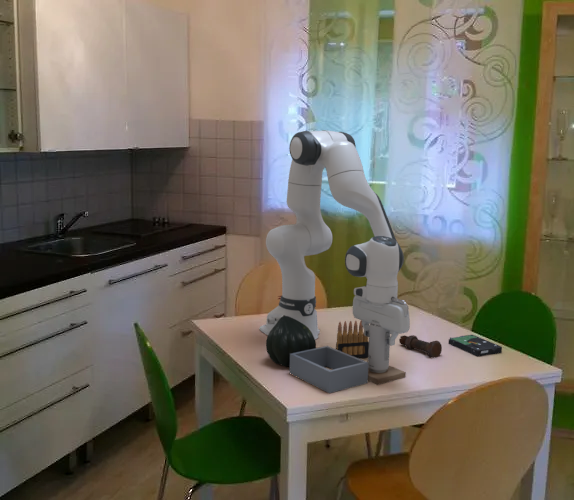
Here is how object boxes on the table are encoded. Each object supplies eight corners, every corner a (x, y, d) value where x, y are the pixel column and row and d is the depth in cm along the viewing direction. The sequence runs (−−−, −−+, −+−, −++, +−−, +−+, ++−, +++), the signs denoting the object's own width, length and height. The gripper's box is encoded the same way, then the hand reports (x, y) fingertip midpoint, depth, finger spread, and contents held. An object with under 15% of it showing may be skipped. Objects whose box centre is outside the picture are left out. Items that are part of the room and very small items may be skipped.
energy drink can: (370, 365, 200) (372, 316, 198) (390, 368, 198) (392, 318, 196) (365, 371, 195) (367, 321, 192) (386, 374, 193) (388, 323, 190)
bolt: (403, 350, 227) (437, 361, 215) (394, 345, 224) (428, 356, 212) (409, 334, 228) (444, 344, 216) (400, 328, 225) (435, 338, 213)
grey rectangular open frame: (289, 373, 196) (289, 353, 195) (326, 364, 205) (327, 345, 204) (329, 393, 182) (329, 371, 181) (367, 382, 190) (368, 362, 189)
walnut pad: (351, 373, 198) (351, 368, 198) (378, 366, 204) (379, 361, 204) (377, 384, 189) (377, 379, 189) (405, 377, 196) (405, 372, 195)
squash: (322, 354, 197) (313, 308, 205) (272, 358, 194) (265, 312, 202) (313, 372, 209) (305, 328, 217) (266, 377, 206) (259, 332, 214)
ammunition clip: (337, 360, 209) (338, 322, 207) (334, 358, 211) (336, 320, 209) (368, 357, 212) (370, 320, 210) (366, 355, 214) (368, 318, 212)
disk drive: (502, 354, 220) (471, 341, 233) (502, 346, 219) (472, 333, 232) (477, 358, 215) (447, 345, 228) (477, 350, 215) (447, 337, 228)
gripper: (416, 300, 186) (413, 348, 189) (365, 285, 203) (363, 329, 205) (400, 303, 183) (397, 352, 185) (349, 287, 199) (347, 333, 201)
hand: (379, 340), depth 195 cm, fingers open, 8 cm apart
